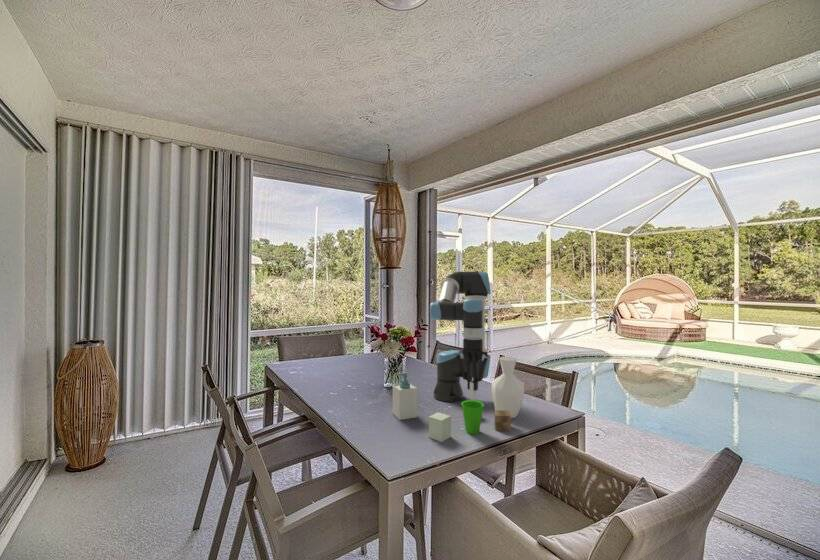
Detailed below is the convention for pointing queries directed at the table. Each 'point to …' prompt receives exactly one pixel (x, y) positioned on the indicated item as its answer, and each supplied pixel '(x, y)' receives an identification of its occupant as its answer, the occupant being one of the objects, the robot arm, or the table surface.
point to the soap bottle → (405, 399)
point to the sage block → (439, 426)
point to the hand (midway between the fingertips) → (472, 398)
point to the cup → (472, 415)
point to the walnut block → (502, 420)
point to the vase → (508, 388)
